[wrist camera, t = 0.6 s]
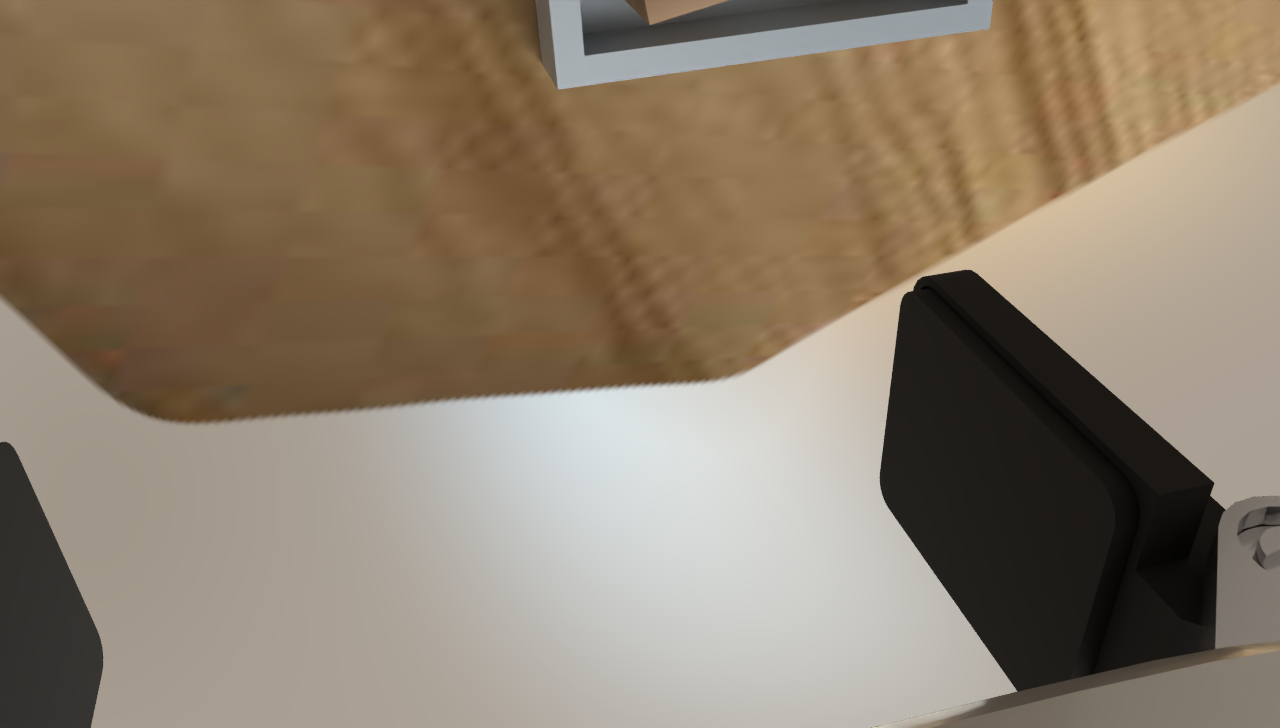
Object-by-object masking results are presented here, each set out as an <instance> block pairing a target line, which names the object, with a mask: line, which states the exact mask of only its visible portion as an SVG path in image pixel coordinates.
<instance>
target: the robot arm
mask: <svg viewBox="0 0 1280 728" xmlns="http://www.w3.org/2000/svg"><path fill="white" fill-rule="evenodd" d="M1213 485H1214V482H1213V481H1212V480H1210V479H1209V478H1208V477H1207V476H1206V475H1205V474H1204V473H1202V472H1201V471H1200V470H1199V469H1198V468H1197V467H1195V466H1194V465H1193V464H1192V463H1191V462H1190V461H1189V460H1188V459H1187V458H1185V457H1184V456H1183V455H1182V454H1181V453H1180V452H1179V451H1178V450H1176V449H1175V448H1174V447H1173V446H1172V445H1171V444H1170V443H1168V442H1167V441H1166V440H1165V439H1164V438H1163V437H1162V436H1161V435H1159V434H1158V433H1157V432H1156V431H1155V430H1154V429H1153V428H1151V427H1150V426H1149V425H1148V424H1147V423H1146V422H1145V421H1143V420H1142V419H1141V418H1140V417H1139V416H1138V415H1137V414H1136V413H1134V412H1133V411H1132V410H1131V409H1130V408H1129V407H1128V406H1126V405H1125V404H1124V403H1123V402H1122V401H1121V400H1120V399H1119V398H1117V397H1116V396H1115V395H1114V394H1113V393H1112V392H1111V391H1109V390H1108V389H1107V388H1106V387H1105V386H1104V385H1102V384H1101V383H1100V382H1099V381H1098V380H1097V379H1096V378H1095V377H1094V376H1092V375H1091V374H1090V373H1089V372H1088V371H1087V370H1086V369H1085V368H1083V367H1082V366H1081V365H1080V364H1079V363H1078V362H1077V361H1075V360H1074V359H1073V358H1072V357H1071V356H1070V355H1069V354H1068V353H1066V352H1065V351H1064V350H1063V349H1062V348H1060V346H1058V345H1057V344H1056V343H1055V342H1054V341H1053V340H1052V339H1050V338H1049V337H1048V336H1047V335H1046V334H1045V333H1044V332H1042V331H1041V330H1040V329H1039V328H1038V327H1037V326H1036V325H1035V324H1033V323H1032V322H1031V321H1030V320H1029V319H1028V318H1027V317H1025V316H1024V315H1023V314H1022V313H1021V312H1020V311H1018V310H1017V309H1016V308H1015V307H1014V306H1013V305H1012V304H1011V303H1010V302H1009V301H1007V300H1006V299H1005V298H1004V297H1003V296H1002V295H1000V294H999V293H998V292H997V291H996V290H995V289H994V288H993V287H991V286H990V285H989V284H988V283H987V282H986V281H985V280H984V279H982V278H981V277H980V276H979V275H978V274H977V273H975V272H973V271H972V270H962V271H956V272H950V273H943V274H938V275H932V276H925V277H922V278H920V279H919V280H918V281H917V283H916V285H915V286H914V290H913V291H911V292H907V293H906V294H905V295H904V296H903V298H902V301H901V305H900V313H899V322H898V331H897V338H896V346H895V355H894V363H893V371H892V379H891V387H890V396H889V404H888V412H887V420H886V428H885V436H884V446H883V453H882V462H881V470H880V486H881V491H882V495H883V498H884V500H885V503H886V504H887V506H888V508H889V509H890V510H891V512H892V513H893V515H894V516H895V518H896V519H897V521H898V522H899V524H900V525H901V526H902V528H903V529H904V531H905V532H906V533H907V535H908V536H909V538H910V539H911V540H912V542H913V543H914V545H915V546H916V548H917V549H918V550H919V552H920V553H921V555H922V556H923V558H924V559H925V560H926V562H927V563H928V565H929V566H930V568H931V569H932V570H933V572H934V573H935V575H936V576H937V578H938V579H939V580H940V582H941V583H942V585H943V586H944V587H945V589H946V590H947V592H948V593H949V595H950V596H951V597H952V599H953V600H954V602H955V603H956V605H957V606H958V607H959V609H960V610H961V612H962V613H963V614H964V616H965V617H966V619H967V620H968V621H969V623H970V624H971V626H972V627H973V629H974V630H975V632H977V634H978V636H979V637H980V639H981V640H982V641H983V643H984V644H985V646H986V647H987V648H988V650H989V651H990V653H991V654H992V656H993V657H994V658H995V660H996V661H997V663H998V664H999V666H1000V667H1001V668H1002V670H1003V671H1004V673H1005V674H1006V676H1007V677H1008V678H1009V680H1010V681H1011V683H1012V684H1013V685H1014V687H1015V688H1016V690H1017V691H1018V692H1014V693H1010V694H1007V695H1002V696H998V697H995V698H990V699H986V700H982V701H978V702H974V703H970V704H966V705H962V706H958V707H954V708H950V709H946V710H942V711H938V712H933V713H930V714H925V715H922V716H917V717H914V718H909V719H906V720H901V721H897V722H893V723H889V724H885V725H881V726H877V727H873V728H1280V496H1261V497H1251V498H1248V499H1245V500H1242V501H1239V502H1235V503H1234V504H1233V505H1231V506H1230V507H1229V508H1228V509H1227V510H1225V509H1224V508H1223V507H1222V506H1221V505H1220V504H1219V503H1218V502H1216V501H1215V500H1214V499H1213V498H1212V497H1211V496H1210V494H1211V491H1212V488H1213ZM102 669H103V651H102V644H101V640H100V636H99V634H98V631H97V629H96V627H95V624H94V622H93V620H92V618H91V616H90V613H89V611H88V609H87V607H86V605H85V603H84V600H83V598H82V596H81V593H80V591H79V589H78V587H77V585H76V583H75V580H74V578H73V576H72V574H71V571H70V569H69V567H68V565H67V563H66V560H65V558H64V556H63V554H62V552H61V549H60V547H59V545H58V543H57V540H56V539H55V536H54V534H53V532H52V529H51V527H50V525H49V523H48V521H47V518H46V516H45V514H44V512H43V510H42V507H41V505H40V503H39V501H38V499H37V496H36V494H35V492H34V490H33V488H32V485H31V483H30V481H29V479H28V476H27V474H26V472H25V470H24V468H23V466H22V463H21V461H20V459H19V457H18V455H17V453H16V451H15V449H14V448H13V447H12V446H11V445H10V444H9V443H7V442H1V443H0V728H91V723H92V718H93V714H94V709H95V704H96V699H97V694H98V690H99V685H100V680H101V675H102Z"/></svg>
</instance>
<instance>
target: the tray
mask: <svg viewBox="0 0 1280 728" xmlns="http://www.w3.org/2000/svg"><path fill="white" fill-rule="evenodd" d="M535 4H536V13H537V22H538V32H539V41H540V50H541V59H542V64H543V66H544V68H545V69H546V71H547V73H548V74H549V76H550V77H551V79H552V81H553V82H554V84H555V85H556V87H557V89H565V88H572V87H579V86H586V85H593V84H600V83H608V82H615V81H622V80H629V79H636V78H643V77H650V76H657V75H664V74H671V73H679V72H686V71H693V70H700V69H707V68H714V67H721V66H728V65H735V64H742V63H750V62H757V61H764V60H771V59H778V58H785V57H792V56H799V55H806V54H813V53H821V52H828V51H835V50H842V49H849V48H856V47H863V46H870V45H877V44H884V43H892V42H899V41H906V40H913V39H920V38H927V37H934V36H941V35H948V34H955V33H963V32H970V31H977V30H984V29H990V21H991V13H992V5H993V0H728V1H724V2H721V3H718V4H715V5H712V6H709V7H706V8H703V9H699V10H696V11H693V12H690V13H687V14H684V15H681V16H677V17H674V18H671V19H668V20H665V21H662V22H659V23H656V24H652V25H649V24H648V23H647V22H646V21H645V20H644V19H643V18H642V17H641V16H640V15H639V14H638V13H637V12H636V11H635V10H634V9H633V8H632V7H631V6H630V5H629V4H628V3H627V2H626V1H625V0H535Z"/></svg>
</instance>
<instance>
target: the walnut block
mask: <svg viewBox="0 0 1280 728" xmlns="http://www.w3.org/2000/svg"><path fill="white" fill-rule="evenodd" d="M625 1H626V2H627V3H628V4H629V5H630V6H631V7H632V8H633V9H634V10H635V11H636V12H637V13H638V14H639V15H640V16H641V17H642V18H643V19H644V20H645V21H646V22H647V23H648V24H649V25H652V24H656V23H659V22H662V21H665V20H668V19H671V18H674V17H677V16H681V15H684V14H687V13H690V12H693V11H696V10H699V9H703V8H706V7H709V6H712V5H715V4H718V3H721V2H724V1H728V0H625Z"/></svg>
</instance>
